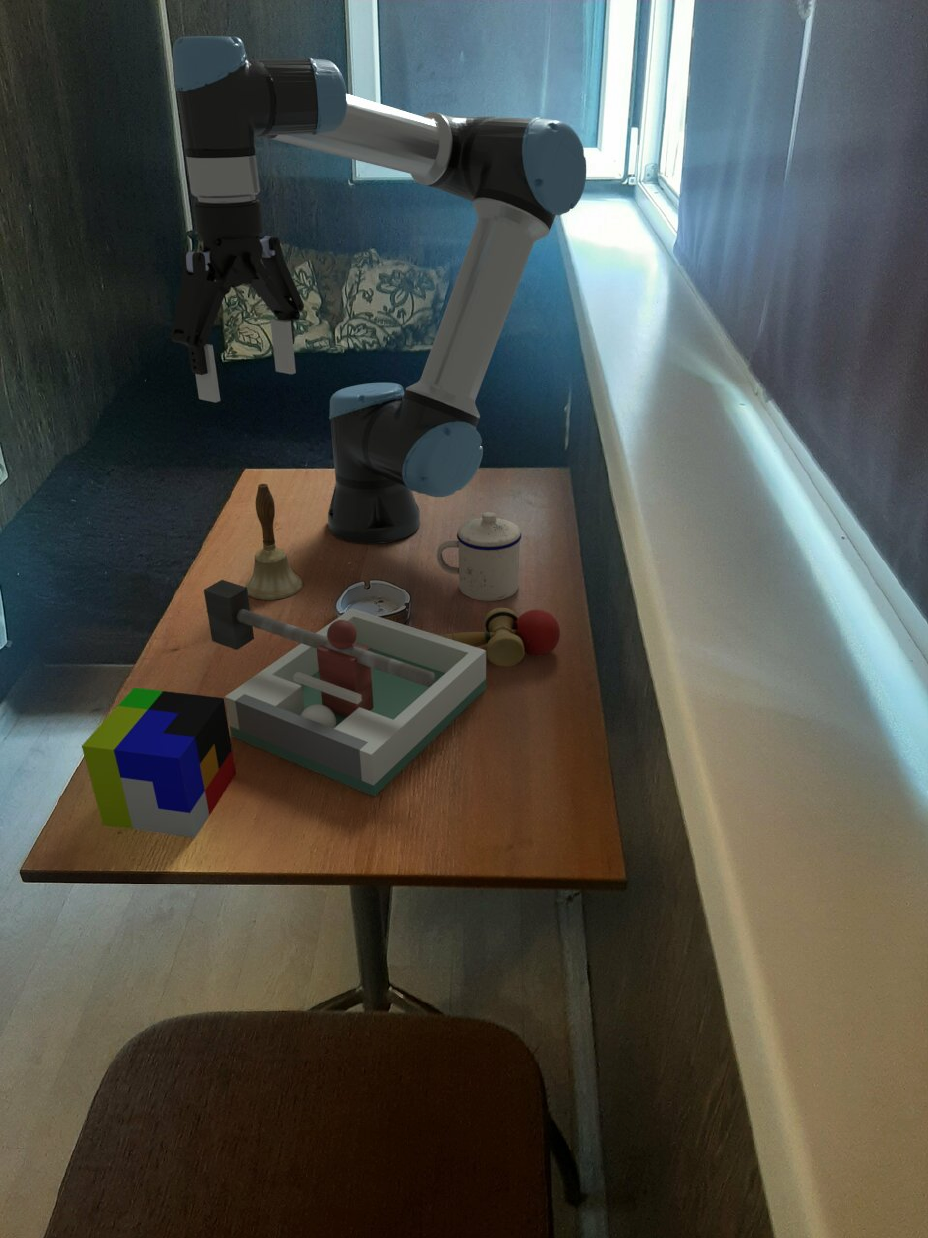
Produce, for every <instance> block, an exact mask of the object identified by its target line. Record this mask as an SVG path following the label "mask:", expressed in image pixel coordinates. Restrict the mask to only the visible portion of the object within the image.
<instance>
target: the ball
mask: <svg viewBox="0 0 928 1238" xmlns="http://www.w3.org/2000/svg"><path fill="white" fill-rule="evenodd" d="M301 716H302V717H305V718H307V719H310V720H313V721H315V722H318V723H320V724H323V725H325V726H328V727H331V728H333V729H334V728H335V726H336V719H335V716H334V713H333V712H332V711H331V710H330V709H329V708H328V707H326V706H324V705H320V704H316V705H311V706H309V707H307V708H306V709H305V710H304V711H303V712H302V714H301Z"/></svg>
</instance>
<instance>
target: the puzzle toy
mask: <svg viewBox="0 0 928 1238" xmlns="http://www.w3.org/2000/svg"><path fill="white" fill-rule="evenodd" d="M225 705H226V702H225V697H219V696H208V695H202V694H193V693H192V694H191V693H183V692H175V691H167V690H158V689H150V688H143V687H142V688H141V687H140V688H139V687H133V688H132V689H131V690H130V691H129V693H128V694H126V696H124V698H123V699H122V700H121V701H120V702H119V703H118V704H117V706H116V707H115V708H114V709H113V710H112V711H111V713H109V715H108V716H107V717H106V718H105V719H104V720H103V722H101V724H99V726H98V727H97V728H96V729H95V730H94V732H93V733H92V734H91V735H90V736H89V737H88V738H87V739H86V740H85V742H83V744H81V748H82V752H83V756H84V759H85V762H86V763H85V764H86V768H87V771H88V774H89V778H90V783H91V787H92V790H93V794H94V797H95V801H96V807H97V810H98V812H99V813H98V814H99V817H100V821H101V825H102V826H109V827H113V828H114V827H115V828H122V829H129V830H136V831H143V832H150V833H156V834H163V835H164V834H165V835H170V836H171V835H173V836H178V837H185V838H191V839H196V837H197V836H198V835H199V833H200V831H201V830H202V828H203V827H204V826H205V823H206V822H207V820H208V819H209V818H210V815H211V814H212V812H213V811H214V809H215V807H216V806H217V804H218V803H219V802H220V800H221V798H222V797H223V795H224V794H225V793H226V791H227V789H228V788H229V786H230V784H231V783H232V781H233V780H234V778H235V776H236V775H237V773H236V772H237V771H236V765H235V758H234V754H233V747H232V742H231V733H230V730H229V729H230V727H229V720H228V714H227V708H226V706H225Z"/></svg>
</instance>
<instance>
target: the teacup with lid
mask: <svg viewBox="0 0 928 1238" xmlns="http://www.w3.org/2000/svg"><path fill="white" fill-rule="evenodd" d="M456 539H457V540H446V541H444V542H443V543H441V544H440V545H439V546H438V548H437V550H436V558H437V562H438V564H439V566H440V567H441V569H443V570H444V571H445V572H446V573H449V574H454V575H458V583H459V584H458V587H459V590H460V591H461V592H462V593H463V594H464V595H465V596H467V597H468V598H471V599H473V600H477V601H483V602H492V601H493V602H495V601H501V600H505V599H508V598H510V597H511V596H514V594H516V592H517V591H518V589H519V586H520V585H519V584H520V583H519V579H520V578H519V574H520V541H521V539H522V532H521V529H520V528H519V526H518V525H517V524H516V523H514V522H512V521H510V520H507V519H503V518H499V517H497V514H496V513H495V512H493V511H486V512H484V513H482V516H481V517H479V518H475V519H471V520H468V521H466V522H464V523H462V525H460V527H458V530H457V533H456ZM449 548H458V567H457V566H451V565H449V564H448V563H446V561H445V560H444V558H443V552H444V551H445V550H447V549H449Z"/></svg>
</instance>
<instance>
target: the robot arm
mask: <svg viewBox="0 0 928 1238" xmlns="http://www.w3.org/2000/svg"><path fill="white" fill-rule="evenodd" d="M172 59H173V60H172V65H173V77H174V84H173V87H174V91H175V92H176V95H177V96H176V97H177V103H178V107H179V109H178V110H179V116H180V124H181V129H182V130H181V131H182V138H183V143H184V148H185V150H184V151H185V157H186V158H185V159H186V166H187V173H188V179H189V185H190V186H189V187H190V194H191V195H192V196H194V197H196V198H197V199H196V200H194V202H193V204H192V210H193V217H194V224H195V232H196V234H197V235H198V237H200V238H201V241H202V250H201V252H197V251H189V250H183V251H182V252H181V254H180V255H181V256H180V257H181V258H180V259H181V279H180V284H179V289H178V294H177V300H176V304H175V310H174V317H173V321H172V325H171V331H170V332H171V333H170V340H171V341H172V342H174V343H179V344H183V345H185V346H186V347H187V352H188V357H189V358H188V360H189V365H190V370H191V373H192V374H195V381H196V389H197V394H198V399H199V400H202V401H207V402H212V403H219V402H221V396H220V395H221V394H220V388H219V382H218V381H219V380H218V374H217V373H218V372H217V367H216V361H215V358H216V357H215V352H214V346H213V344H208V341H209V340H208V339H209V337H210V335H211V332H212V329H213V327H214V325H215V323H216V321H217V320H216V319H217V317H218V314H219V312H220V309H221V306H222V304H223V301H224V299H225V296H226V295H228V294H229V293H230V292H231V289H232V288H237V287H238V288H239V287H240V286H242V285H243V284H244V285H250V286H251V287H252V288H253V290H254V291H255V292H256V294H257V295H258V296H259V297H260V299H261V300H262V301H263V303H264V304H265V305H266V307H267V308H268V309H269V310H270V311H271V313H272V314H273V316H274V317H276V318H272V319H270V320H269V322H270V330H271V331H270V332H271V339H272V349H273V357H274V358H273V359H274V367H275V368H274V369H275V373H276V372H277V373H283V374H288V375H294V374H296V360H295V351H294V345H295V342H296V341H295V339H296V338H295V337H296V336H295V332H294V331H295V328H294V321H298V320H300V317H301V313H300V312H302V311H303V310H304V308H305V304H304V302H303V300H302V298H301V295H300V292H299V291H298V290H299V289H298V288H297V285H296V283H295V281H294V279H293V277H292V275H291V272H290V270H289V268H288V266H287V263H286V261H285V258H284V256H283V251H282V246H281V241H280V239H279V237H277V236H270V235H262V234H263V233H264V230H265V228H264V220H263V208H262V202H261V201H260V200H259V198H256V196H257V195H258V194H259V193H260V192H261V188H260V179H259V172H258V171H259V170H258V161H257V155H256V154H257V153H256V144H255V143H256V142H255V141H256V140H255V137H260V138H265V139H270V140H274V141H276V142H277V141H278V142H282V143H286V144H290V145H294V146H298V147H301V148H306V149H310V150H314V151H318V152H321V153H326V154H330V155H333V156H337V157H342V158H345V159H349V160H354V161H358V162H362V163H366V164H369V165H374V166H377V167H378V166H379V167H381V168H385V169H389V170H393V171H398V172H402V173H406V174H410V176H411V177H412V179H413V180H414V181H415V182H416V183H417V184H418V185H419V184H420V185H423V186H426V187H430V188H433V189H438V190H441V191H442V192H446V193H448V194H450V195H451V194H452V195H453V196H457V197H459V198H462V199H465V200H467V201H470V202H472V206H473V208H474V211H475V213H476V215H477V223H476V225H475V228H474V230H473V232H472V236H471V238H470V241H469V243H468V247H467V250H466V253H465V255H464V258H463V261H462V263H461V267H460V269H459V272H458V273H457V277H456V280H455V283H454V285H453V288H452V291H451V293H450V297H449V299H448V302H447V305H446V306H445V307H446V308H445V311H444V312H443V316H442V319H441V320H440V321H441V322H440V324H439V326H438V330H437V332H436V335H435V338H434V341H433V344H432V346H431V348H430V352H429V355H428V357H427V360H426V362H425V365H424V368H423V371H422V375H421V377H420V379H419V380H418V381H417V382H415V383H413V384H411V385H409V386H407V387H405V389H404V386H402V385H401V384H399V383H394V382H372V383H362V384H356V385H355V384H354V385H351V386H348V387H344V388H341V389H339V390H337V391H336V392H334V393H333V394H332V395H331V397H330V399H329V417H328V419H329V420H330V428H331V429H330V430H331V432H330V433H331V441H332V453H333V464H334V476H335V484H334V487H333V488H334V489H333V493H332V496H331V500H330V504H329V509H328V513H327V522H328V523H327V524H328V530H329V533H331V535H333V536H335V537H336V538H337V539H340V540H342V541H345V542H349V543H356V544H364V545H365V544H366V545H372V544H373V545H374V544H384V543H386V544H387V543H390V542H396V541H398V540H399V541H400V540H402V539H404V538H407V537H409V536H411V535H413V534H414V533H415V532H417V530H418V529H419V528H420V525H421V516H420V515H421V512H420V507H419V506H418V504H417V501H416V499H415V496H414V492H415V493H418V494H420V495H421V494H422V495H425V496H429V497H432V498H447V497H450V496H452V495H455V493H456V492H458V491H461V490H463V489H464V488H465V487H466V486H467V485H468V484H469V483H470V482H471V481H472V479H473V478H475V477H474V476H475V475H476V473H477V471H478V470H479V468H480V465H481V462H482V458H483V453H484V448H483V446H481V445H482V443H483V438H482V437H481V436H482V435H481V434H480V433H479V431H478V429H477V426H478V423H479V421H480V418H481V415H480V412H479V410H478V407H477V406H476V399H477V397H478V394H479V392H480V389H481V386H482V383H483V380H484V378H485V377H486V376H485V375H486V373H487V370H488V366H489V365H490V361H491V359H492V357H493V354H494V352H495V348H496V346H497V343H498V341H499V338H500V335H501V333H502V330H503V327H504V325H505V322H506V319H507V316H508V314H509V311H510V309H511V306H512V304H513V300H514V298H515V294H516V292H517V290H518V286H519V284H520V282H521V279H522V276H523V273H524V271H525V269H526V266H527V263H528V260H529V258H530V255H531V252H532V249H533V247H534V244H535V242H537V241H539V240H541V239H543V238H546V237H547V236H548V235H549V234H550V231H551V228H552V227H553V224H554V221H555V218H556V216H562V215H564V214H566V213H569V212H570V211H571V210H573V209H575V207H576V206H577V204H578V203H579V201H580V200H581V198H582V195H583V193H584V189H585V187H586V186H585V185H586V181H587V159H586V157H585V153H584V151H585V149H584V147H583V143H582V141H581V139H580V137H579V135H578V134H577V133H576V131H575V130H574V129H573V127H571V126H570V125H569V124H567V123H566V122H564V121H562V120H561V121H560V120H555V119H548V118H546V117H542V116H540V117H539V116H538V117H533V118H529V117H527V118H524V117H522V118H520V117H503V116H502V117H501V116H500V117H498V116H452V115H448V114H447V115H446V114H443V113H440V112H436V111H430V112H427V113H425V114H423V115H419V114H415V113H411V112H407V111H405V110H402V109H399V108H396V107H392V106H389V105H385V104H383V103H378V102H376V101H372V100H369V99H367V98H366V99H365V98H363V97H359V96H356V95H352V94H349V93H347V85H346V83H345V79H344V77H343V74H342V72H341V71H340V69H339V67H337V65H336V64H335V63H334V62H332V61H331V60H328V59H321V58H312V57H311V56H309V57H299V58H298V57H295V58H285V57H283V58H257V59H256V58H251V57H248V55H247V53H246V49H245V45H244V42H243V40H241V39H240V37H237V36H227V35H226V36H225V35H222V36H221V35H220V36H219V35H218V36H217V35H216V36H215V35H214V36H213V35H207V36H205V35H204V36H202V35H200V36H197V35H195V36H193V35H191V36H182V37H179V38H177V39H176V40H175V41H174V43H173V45H172Z"/></svg>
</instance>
